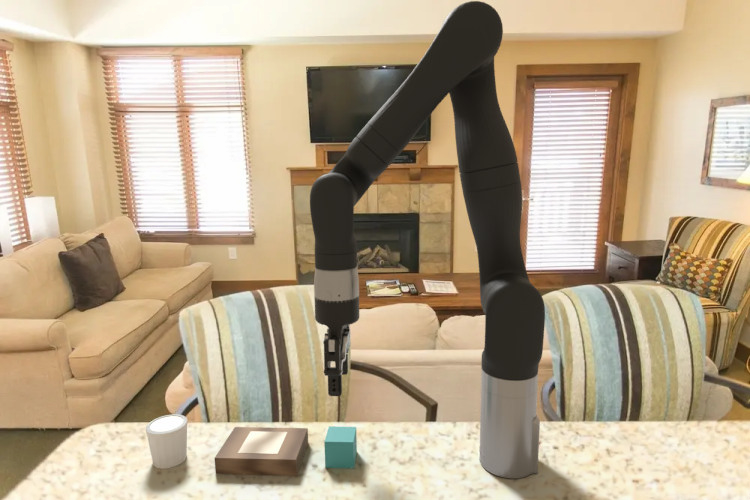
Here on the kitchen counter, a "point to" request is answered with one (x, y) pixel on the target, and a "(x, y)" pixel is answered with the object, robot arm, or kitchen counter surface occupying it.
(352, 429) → the teal cube
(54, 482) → the kitchen counter surface
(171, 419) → the white tapered cup
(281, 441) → the walnut plinth
